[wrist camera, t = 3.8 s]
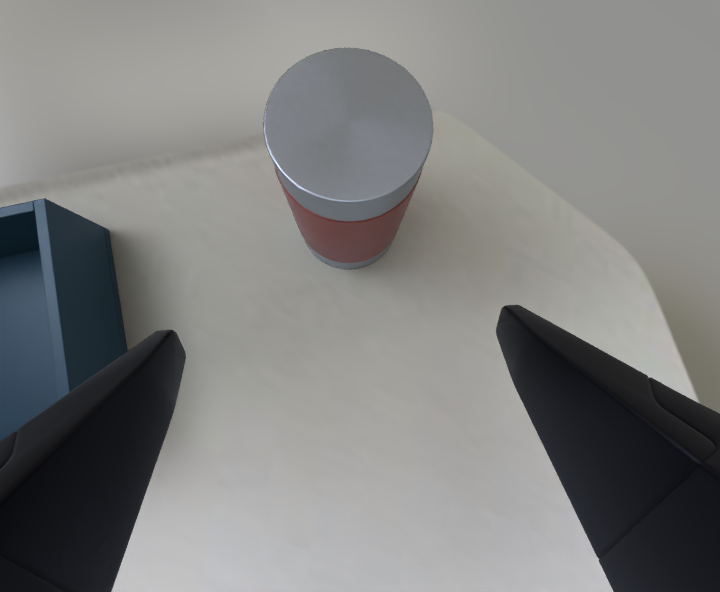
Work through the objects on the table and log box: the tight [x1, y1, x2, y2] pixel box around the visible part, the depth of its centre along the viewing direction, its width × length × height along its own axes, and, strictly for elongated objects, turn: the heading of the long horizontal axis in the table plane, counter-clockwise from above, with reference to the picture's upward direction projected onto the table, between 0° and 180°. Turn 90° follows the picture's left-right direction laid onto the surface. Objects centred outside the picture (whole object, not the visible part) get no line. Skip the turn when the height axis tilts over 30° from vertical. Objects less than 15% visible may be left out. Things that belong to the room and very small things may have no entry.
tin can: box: [263, 48, 433, 269], centre depth 19 cm, size 7×7×11 cm
